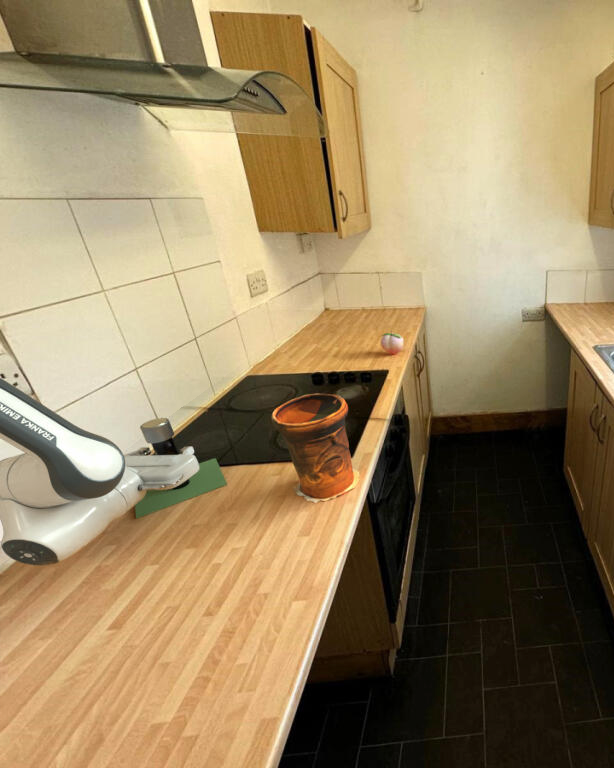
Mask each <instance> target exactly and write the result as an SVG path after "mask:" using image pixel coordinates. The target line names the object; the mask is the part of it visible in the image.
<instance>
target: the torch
mask: <svg viewBox="0 0 614 768" xmlns="http://www.w3.org/2000/svg"><path fill="white" fill-rule="evenodd" d="M139 430H140V431H141V433H142V435H143V437H144V440H145V442H146V443H147V444H150V445H151V446H152V449H153V451H154V454H155V455H179V454H180V453H179V451H178V448H177V446H176V443H175V440H174V439H173V437H174V435H175V432H174V429H173V427H172V424H171V421H170V419H169V418H167V417H158V418H154V419H150V420H147V421H146V422H143V423H142V424H141V425H139ZM189 483H190V480H189V479H187V480H186V481H185V482H183V483H182V484H180V485H178V486H177V487H174V488H172V490H177V489H181V488H184V487H185V486H187V485H188V484H189Z"/></svg>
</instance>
